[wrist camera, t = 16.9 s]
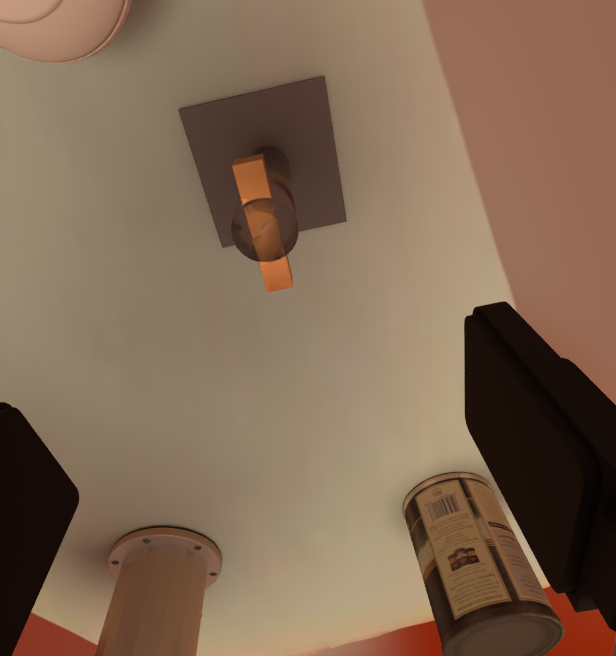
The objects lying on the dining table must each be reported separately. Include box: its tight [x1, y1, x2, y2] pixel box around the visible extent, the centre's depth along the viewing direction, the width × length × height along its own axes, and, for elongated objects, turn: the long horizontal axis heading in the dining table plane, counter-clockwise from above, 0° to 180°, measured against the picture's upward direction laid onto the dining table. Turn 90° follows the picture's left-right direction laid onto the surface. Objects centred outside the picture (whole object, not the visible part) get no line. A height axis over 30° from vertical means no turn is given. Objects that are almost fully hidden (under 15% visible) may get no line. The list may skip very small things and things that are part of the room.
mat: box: [179, 76, 346, 248], centre depth 29 cm, size 9×9×1 cm
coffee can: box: [403, 473, 564, 656], centre depth 43 cm, size 10×10×14 cm
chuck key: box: [231, 146, 298, 292], centre depth 23 cm, size 3×6×12 cm, turn 11°
